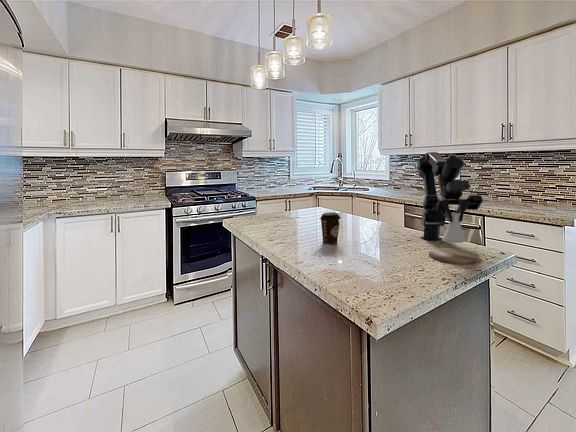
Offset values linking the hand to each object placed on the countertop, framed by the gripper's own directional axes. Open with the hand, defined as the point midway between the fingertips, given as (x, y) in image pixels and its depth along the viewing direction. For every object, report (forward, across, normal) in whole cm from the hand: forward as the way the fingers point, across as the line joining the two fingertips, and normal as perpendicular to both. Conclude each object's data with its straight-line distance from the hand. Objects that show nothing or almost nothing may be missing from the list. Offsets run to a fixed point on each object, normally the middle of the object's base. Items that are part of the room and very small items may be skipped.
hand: (456, 221), depth 109 cm
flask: (+4, 0, +6) cm, 8 cm away
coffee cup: (-2, -44, +22) cm, 49 cm away
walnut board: (+8, 0, +10) cm, 13 cm away
